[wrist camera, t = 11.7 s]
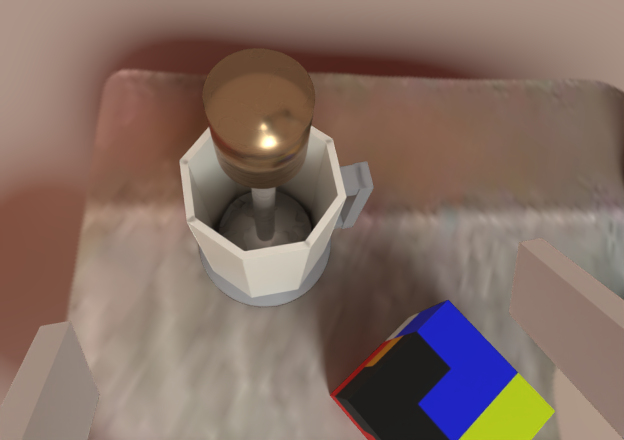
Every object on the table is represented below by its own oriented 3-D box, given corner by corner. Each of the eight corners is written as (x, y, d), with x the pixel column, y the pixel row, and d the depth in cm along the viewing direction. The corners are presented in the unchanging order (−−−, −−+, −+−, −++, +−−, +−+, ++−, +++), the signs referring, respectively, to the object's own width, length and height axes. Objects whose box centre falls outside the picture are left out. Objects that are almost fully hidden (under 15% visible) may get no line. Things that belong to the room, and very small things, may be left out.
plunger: (301, 187, 43) (328, 14, 23) (318, 271, 41) (366, 162, 20) (214, 200, 42) (159, 31, 22) (226, 287, 40) (178, 190, 19)
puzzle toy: (409, 316, 43) (448, 299, 34) (490, 403, 41) (554, 411, 32) (329, 395, 40) (347, 400, 31) (411, 491, 39) (457, 528, 29)
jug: (330, 173, 47) (356, 84, 33) (357, 291, 43) (399, 249, 29) (193, 193, 45) (157, 108, 31) (209, 318, 42) (177, 288, 27)
